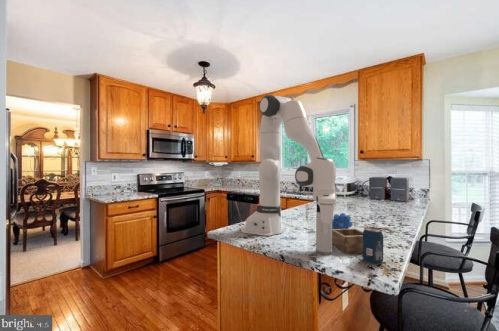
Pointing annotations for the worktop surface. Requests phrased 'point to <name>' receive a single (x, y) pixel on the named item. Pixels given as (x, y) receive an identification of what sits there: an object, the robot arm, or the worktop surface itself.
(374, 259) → the soda can
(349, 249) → the wooden cubby frame
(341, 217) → the grapes
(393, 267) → the worktop surface
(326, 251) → the travel mug
